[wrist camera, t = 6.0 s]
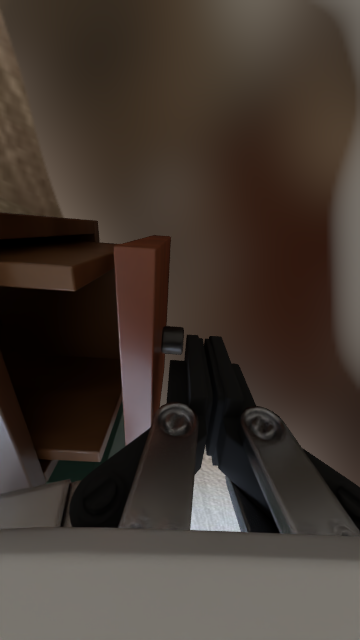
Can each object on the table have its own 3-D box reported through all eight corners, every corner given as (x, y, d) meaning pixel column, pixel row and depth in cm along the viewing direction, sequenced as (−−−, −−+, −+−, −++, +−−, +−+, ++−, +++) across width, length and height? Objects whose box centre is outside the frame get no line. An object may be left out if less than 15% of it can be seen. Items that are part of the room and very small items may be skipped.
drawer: (188, 238, 14) (199, 252, 6) (177, 368, 18) (175, 479, 10) (-27, 220, 13) (-342, 210, 5) (16, 358, 18) (-119, 465, 10)
